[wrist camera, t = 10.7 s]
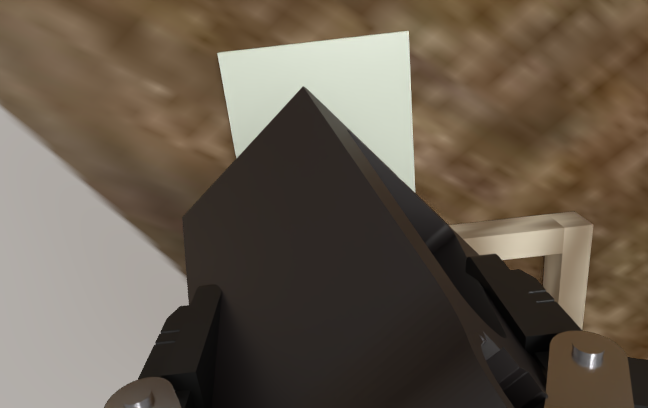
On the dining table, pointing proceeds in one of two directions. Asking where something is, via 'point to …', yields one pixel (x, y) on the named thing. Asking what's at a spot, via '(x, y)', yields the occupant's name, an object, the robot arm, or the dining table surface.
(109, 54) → the dining table surface
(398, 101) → the sage mat
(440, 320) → the phone stand
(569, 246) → the pocket holder
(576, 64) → the dining table surface
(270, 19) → the dining table surface
